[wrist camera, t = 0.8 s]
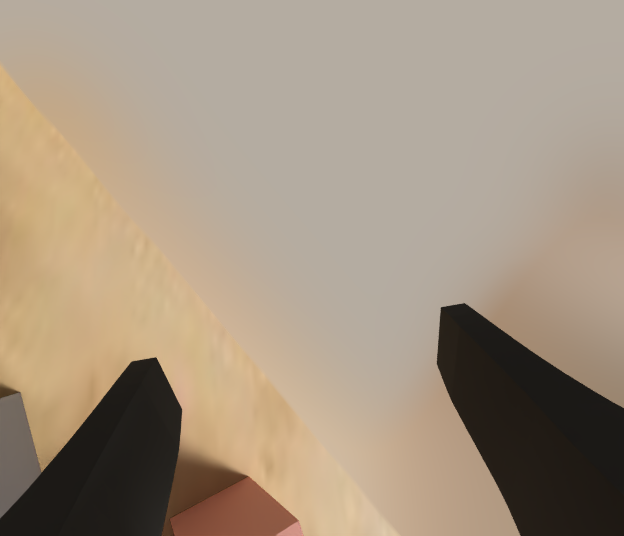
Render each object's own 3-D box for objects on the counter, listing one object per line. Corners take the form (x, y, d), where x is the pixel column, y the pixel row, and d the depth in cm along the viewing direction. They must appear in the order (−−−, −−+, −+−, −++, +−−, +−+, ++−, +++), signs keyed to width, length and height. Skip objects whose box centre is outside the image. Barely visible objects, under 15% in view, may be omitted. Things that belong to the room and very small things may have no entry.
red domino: (256, 500, 25) (309, 555, 18) (177, 546, 23) (203, 628, 16) (248, 476, 25) (298, 520, 18) (169, 518, 23) (192, 588, 16)
